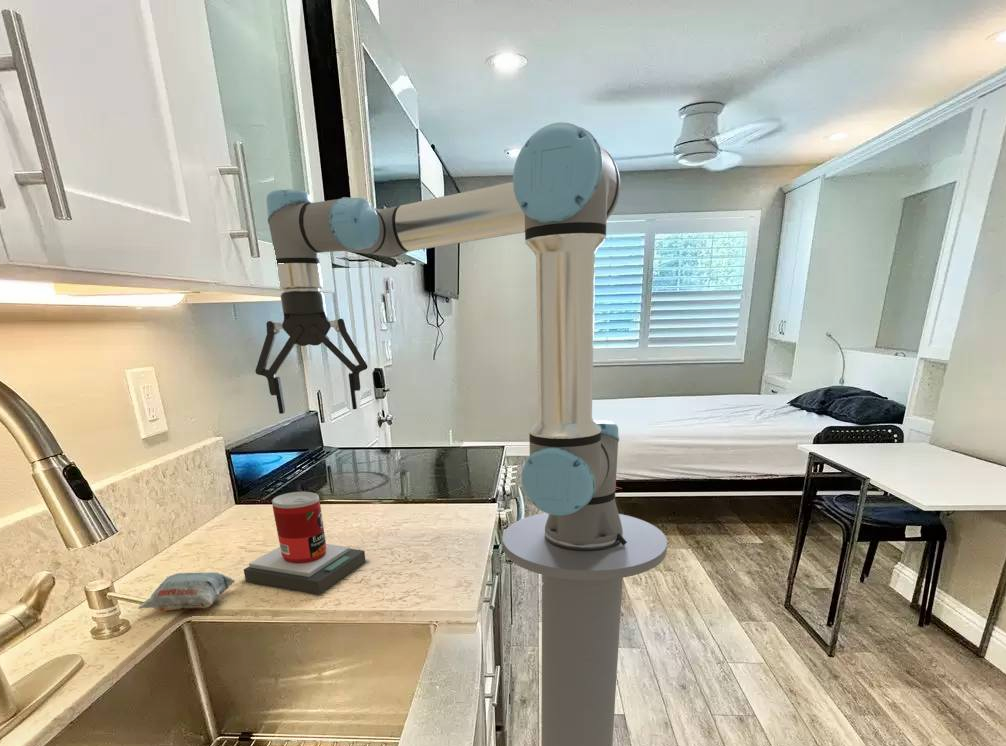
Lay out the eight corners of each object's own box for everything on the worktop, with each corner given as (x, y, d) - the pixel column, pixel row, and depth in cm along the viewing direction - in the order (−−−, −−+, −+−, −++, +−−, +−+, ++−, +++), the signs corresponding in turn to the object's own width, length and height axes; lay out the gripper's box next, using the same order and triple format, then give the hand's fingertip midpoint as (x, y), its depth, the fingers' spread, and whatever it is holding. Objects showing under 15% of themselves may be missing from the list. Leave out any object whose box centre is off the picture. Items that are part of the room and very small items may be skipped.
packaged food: (215, 616, 90) (208, 588, 88) (140, 618, 90) (132, 590, 88) (238, 592, 98) (232, 565, 96) (169, 594, 98) (162, 568, 96)
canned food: (321, 563, 100) (311, 504, 96) (275, 564, 100) (264, 505, 96) (332, 546, 107) (324, 490, 103) (289, 547, 107) (280, 491, 103)
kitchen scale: (365, 562, 108) (364, 546, 107) (319, 594, 96) (317, 577, 95) (297, 552, 114) (294, 537, 112) (245, 581, 102) (242, 565, 100)
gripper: (372, 290, 108) (383, 403, 116) (232, 293, 104) (254, 411, 112) (372, 288, 101) (384, 409, 109) (223, 292, 97) (247, 417, 105)
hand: (319, 410), depth 111 cm, fingers open, 13 cm apart
